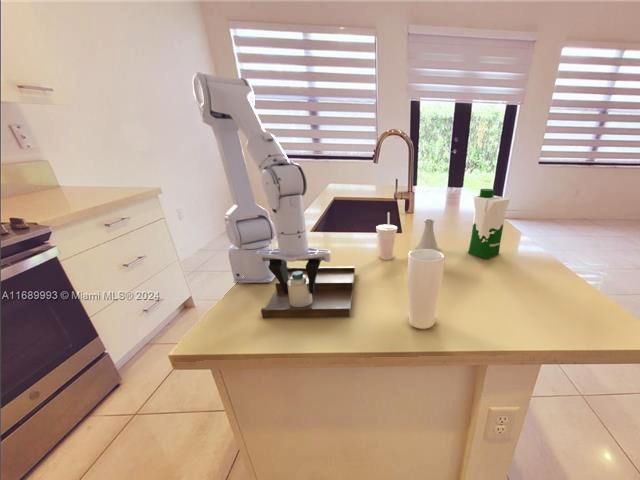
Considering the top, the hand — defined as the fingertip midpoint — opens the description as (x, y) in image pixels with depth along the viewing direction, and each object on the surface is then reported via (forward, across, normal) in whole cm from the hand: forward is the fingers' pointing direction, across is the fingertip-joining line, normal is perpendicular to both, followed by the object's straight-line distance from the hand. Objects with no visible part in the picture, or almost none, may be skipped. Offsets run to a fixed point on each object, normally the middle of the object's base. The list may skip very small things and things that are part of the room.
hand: (299, 291), depth 68 cm
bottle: (+3, 0, 0) cm, 3 cm away
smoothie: (+4, +20, +30) cm, 36 cm away
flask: (+4, +34, +37) cm, 50 cm away
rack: (+4, +2, +6) cm, 7 cm away
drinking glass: (+4, +26, -8) cm, 27 cm away
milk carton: (+4, +52, +33) cm, 62 cm away
